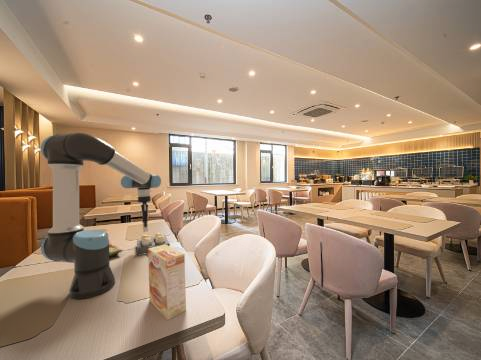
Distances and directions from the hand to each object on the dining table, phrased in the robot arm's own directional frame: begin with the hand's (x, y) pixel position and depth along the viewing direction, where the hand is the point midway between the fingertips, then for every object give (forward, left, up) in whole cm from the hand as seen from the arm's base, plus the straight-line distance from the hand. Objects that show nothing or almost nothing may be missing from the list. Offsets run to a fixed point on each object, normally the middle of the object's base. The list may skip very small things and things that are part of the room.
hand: (145, 231), depth 133 cm
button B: (-8, 0, -7) cm, 11 cm away
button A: (-8, -8, -7) cm, 13 cm away
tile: (-15, -4, -10) cm, 19 cm away
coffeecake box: (-71, -3, -10) cm, 72 cm away
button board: (-4, -4, -10) cm, 12 cm away
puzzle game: (-2, +22, -11) cm, 25 cm away
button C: (0, -8, -7) cm, 10 cm away
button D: (0, 0, -7) cm, 7 cm away
